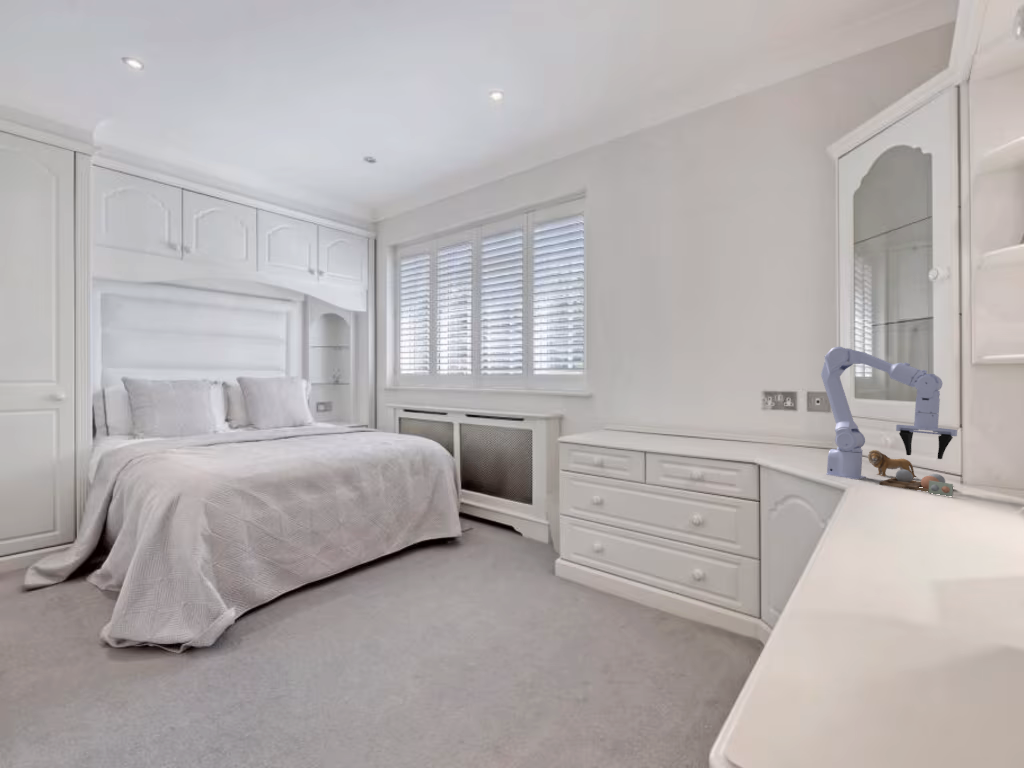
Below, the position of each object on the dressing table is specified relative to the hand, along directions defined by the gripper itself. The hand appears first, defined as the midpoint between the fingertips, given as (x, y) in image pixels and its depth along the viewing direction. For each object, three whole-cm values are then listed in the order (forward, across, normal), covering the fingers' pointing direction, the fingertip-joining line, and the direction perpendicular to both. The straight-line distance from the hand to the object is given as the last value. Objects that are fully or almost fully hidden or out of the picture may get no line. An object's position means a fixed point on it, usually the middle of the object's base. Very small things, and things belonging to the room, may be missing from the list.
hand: (924, 456), depth 157 cm
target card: (+10, +6, -10) cm, 15 cm away
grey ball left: (+10, -5, +3) cm, 11 cm away
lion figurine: (+10, -12, +15) cm, 22 cm away
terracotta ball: (+10, +3, -4) cm, 11 cm away
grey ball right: (+10, +3, +3) cm, 10 cm away
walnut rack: (+10, -1, 0) cm, 10 cm away
